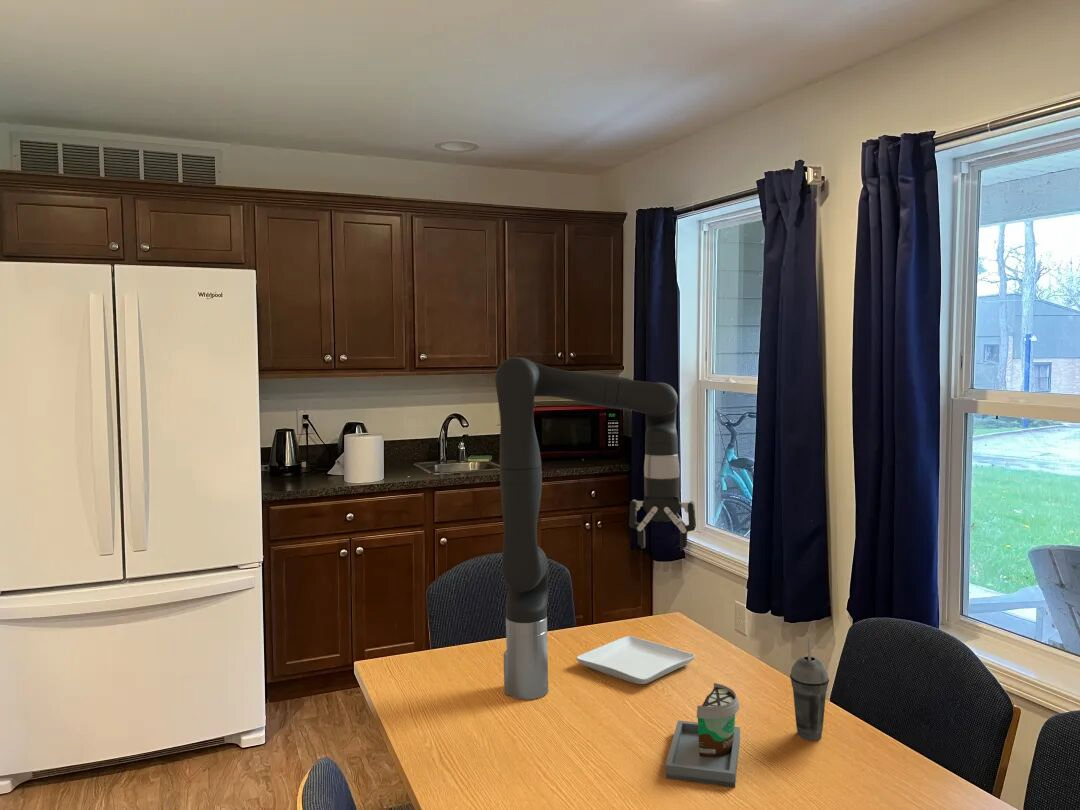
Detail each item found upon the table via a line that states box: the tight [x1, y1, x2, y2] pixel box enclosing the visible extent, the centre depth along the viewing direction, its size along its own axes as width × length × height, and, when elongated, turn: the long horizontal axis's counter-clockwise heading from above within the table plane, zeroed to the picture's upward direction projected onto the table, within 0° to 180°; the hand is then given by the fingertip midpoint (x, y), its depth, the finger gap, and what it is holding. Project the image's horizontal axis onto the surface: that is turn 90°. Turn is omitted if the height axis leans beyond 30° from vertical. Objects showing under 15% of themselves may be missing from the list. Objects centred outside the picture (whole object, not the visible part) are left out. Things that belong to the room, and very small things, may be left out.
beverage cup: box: [789, 636, 830, 742], centre depth 155 cm, size 7×7×20 cm
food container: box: [696, 682, 740, 757], centre depth 150 cm, size 12×6×10 cm, turn 152°
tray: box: [665, 720, 741, 788], centre depth 148 cm, size 12×18×2 cm, turn 163°
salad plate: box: [576, 635, 696, 685], centre depth 192 cm, size 21×21×3 cm
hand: (662, 548), depth 173 cm, fingers open, 8 cm apart
